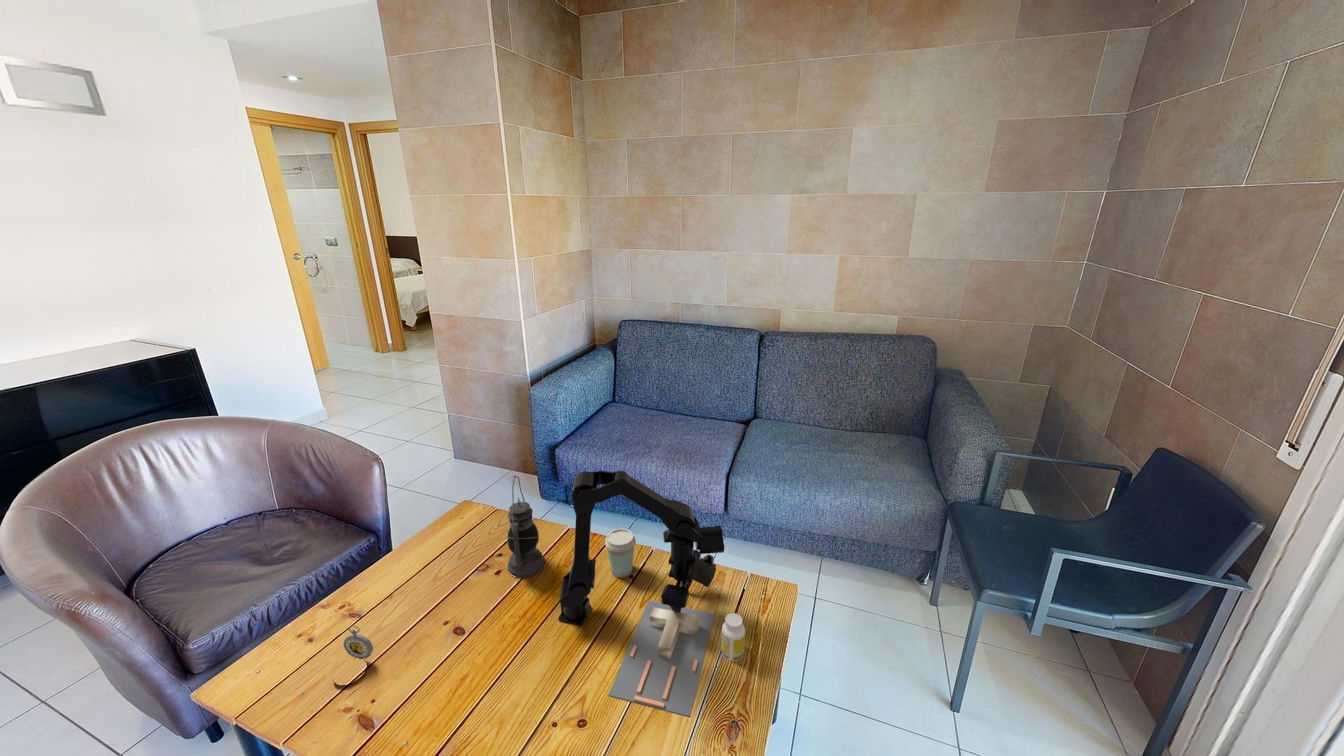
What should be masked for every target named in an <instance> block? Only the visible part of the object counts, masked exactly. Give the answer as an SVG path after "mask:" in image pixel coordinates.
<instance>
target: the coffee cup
mask: <svg viewBox="0 0 1344 756" xmlns="http://www.w3.org/2000/svg"><path fill="white" fill-rule="evenodd" d="M635 545H636V537H635V535H634V532H632V531H631V530H629V529H628V528H624V527H623V528H622V527H621V528H616V529H613V530H611V531H610V532H609V533H608V534H607V536H606V538H605V542H604V546H605V547H606V549H607V553H608V554H607V555H608V561H609V566H610V570H611V571H610V572H611V575H612V576H613V577H616V578H626V577H628V576H630V575H631V573H632V571H633V564H634V554H635Z"/></svg>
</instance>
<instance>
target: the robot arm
mask: <svg viewBox="0 0 1344 756" xmlns="http://www.w3.org/2000/svg"><path fill="white" fill-rule="evenodd" d="M600 485H601V486H600ZM598 486H599V487H598ZM620 495H621V496H623V497H625V498H626V499H628V500H629V501H630V502H633V503H634V504H635V505H637V506H640V507H641V508H642V509H644V510H646V511H647V512H649V513H651V514H652V515H654V516H656V517H657V518H658V519H660V520H661V521H662V523H663V524H664V525H665V527H666V528H667V529H666V530H665V531H663V532H662V537H663V542H664V544H665V543H667V544H669V543H670V556H669V559H668V564H669V565H670V570H669V573H668V577H669V578H673V579H674V580H675V581H676V583H675V584H669V583H668V584H666V585H664V587H663V590H662V593H661V595H660V603H662V604H665V605H669V606H670V607H671V609H672V610H673V611H675V612H681V608H687V604H688V601H689V597H690V590H689V587H690V583H693V581H695V582H697V583H699V584H700V585H702V586H704V587H706V588H709V587H710V586H711V584H712V582H713V579H714V578H715V575H716V571H717V567H716V566H717V565H716V563H715V561H714V556H712V555H711V554H721V553H724V552H725V543H724V535H723V528H722V525H714V526H703V527H701V525H700V521H699V520H698V519H697V518H696V516H695V515H694V514H693V510H692V508H691V506H690V505H688V504H686V503H685V502H681V501H679V500H676V499H673V500H672V499H668V498H665V497H664V496H663V495H661V494H660V493H658V492H656V491H654V490H653V489H651V488H649V487H648V486H646V485H645V484H643V483H641V482H640V481H639V480H637V479H635V478H633V477H631V476H630V475H629V474H628V473H627V472H626V471H624V470H618V471H617V470H616V471H608V470H596V471H586V470H585V471H581V472H579V473H577V474H576V475H575V477H574V480H573V485H572V490H571V501H572V502H571V503H572V508H573V510H574V513H575V514H574V515H575V528H574V530H575V531H574V551H573V554H574V555H573V558H572V563H571V567H570V570H569V572H567V573H566V574H564V576H563V578H562V584H561V589H560V595H559V604H560V614H559V615H558V621H560V622H563V623H568V624H569V623H570V624H573V625H578V626H583V625H582V624H583V623H584V622H585V620H586V618H587V617H588V615H589V614H590V612H591V609H592V605H591V604H590V603H591V602H590V598H589V597H588V596H589V595H590V593H591V591H592V590H594V589H595V582H596V581H595V580H596V563H597V562H596V561H597V559H596V558H591V556H590V549H591V548H590V545H591V528H592V527H591V526H592V514H593V511H594V509H595V506H596V504H597V503H598V504H599V503H602V502H605V501H607V500H609V499H611V498H613V497H617V496H620ZM694 543H695V549H694ZM702 555H704V557H702Z"/></svg>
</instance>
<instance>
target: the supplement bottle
mask: <svg viewBox="0 0 1344 756" xmlns="http://www.w3.org/2000/svg"><path fill="white" fill-rule="evenodd" d="M743 620H744V619H743V617H742V616H741V615H740V614H738V613H737V612H736V613H735V612H729V613H728V614H726V615H725V618H724V623H723V624H722V626H721V639H720V640H721V641H720V642H721V644H720V645H721V647H720V649H721V650H720V651H721V655H722V656H723V658H724V659H726V660H728V661H730V662H737V661H740V660H742V659H743V657H744V655H745V646H746V644H745V643H746V641H745V639H746V628H745V625H744V624H743V622H744V621H743Z"/></svg>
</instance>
